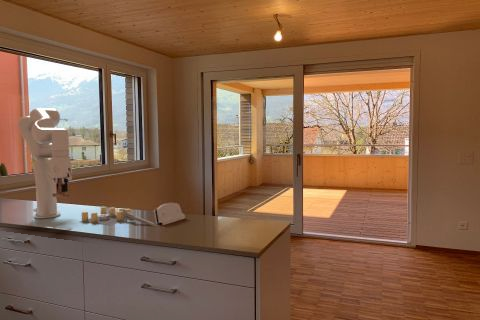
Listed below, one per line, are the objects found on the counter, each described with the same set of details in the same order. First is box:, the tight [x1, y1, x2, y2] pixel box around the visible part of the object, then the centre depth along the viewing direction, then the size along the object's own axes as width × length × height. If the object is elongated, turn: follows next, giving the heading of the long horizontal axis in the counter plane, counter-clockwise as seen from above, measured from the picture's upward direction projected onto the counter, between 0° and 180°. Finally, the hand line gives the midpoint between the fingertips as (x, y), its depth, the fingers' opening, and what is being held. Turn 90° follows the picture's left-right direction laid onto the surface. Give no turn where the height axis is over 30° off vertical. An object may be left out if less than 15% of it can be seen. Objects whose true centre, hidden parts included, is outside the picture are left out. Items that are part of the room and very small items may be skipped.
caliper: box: [122, 210, 157, 227], centre depth 176 cm, size 20×1×6 cm, turn 67°
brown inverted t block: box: [53, 178, 70, 198], centre depth 175 cm, size 3×7×9 cm, turn 158°
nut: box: [97, 213, 110, 220], centre depth 184 cm, size 5×6×2 cm
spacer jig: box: [79, 206, 132, 226], centre depth 183 cm, size 20×18×5 cm
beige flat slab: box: [153, 202, 186, 226], centre depth 182 cm, size 17×5×10 cm, turn 147°
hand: (62, 191), depth 176 cm, fingers closed on brown inverted t block, 2 cm apart
